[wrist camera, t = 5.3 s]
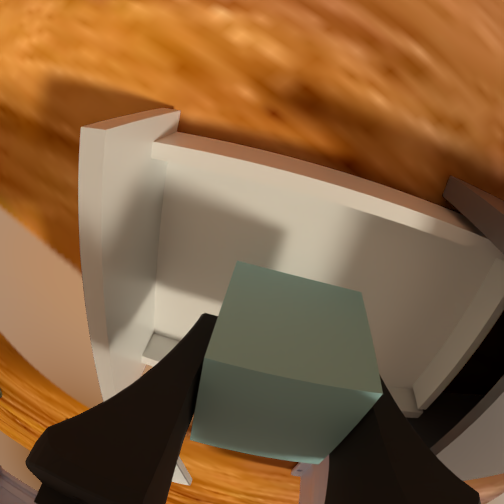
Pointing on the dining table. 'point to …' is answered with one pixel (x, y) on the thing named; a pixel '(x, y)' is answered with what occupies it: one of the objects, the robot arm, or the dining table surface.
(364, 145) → the dining table surface
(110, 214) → the tray
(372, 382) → the teal block
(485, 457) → the housing
